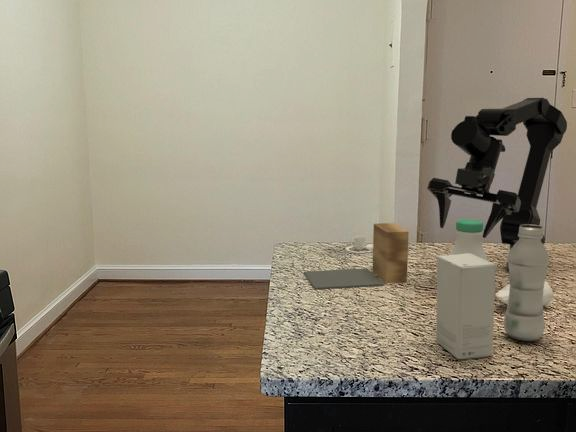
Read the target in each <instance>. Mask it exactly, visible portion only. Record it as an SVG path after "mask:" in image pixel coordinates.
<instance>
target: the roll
mask: <svg viewBox="0 0 576 432" xmlns="http://www.w3.org/2000/svg"><path fill="white" fill-rule="evenodd" d="M543 290H544V291H543V307H544V306H548V305H549V304H551V302H552V301H553V299H554V292H553V288H552V287H551V285H550V284H549V283H548V282H547V281H546V280H545V283H544V288H543ZM509 291H510V282H509V283H508V284H506V285H505V286H504V287H503V288H501V289H499V290H498V291H497V292H496V293H495V295H494V296H496V298H497V299H498V300H499V301H501V302H502V303H504V304H506V305H508V299H509Z"/></svg>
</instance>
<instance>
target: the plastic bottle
mask: <svg viewBox="0 0 576 432" xmlns="http://www.w3.org/2000/svg"><path fill="white" fill-rule="evenodd" d="M543 232H544V227H543V226H541V225H530V224H525V225H520V227H519V233H518V237H520V238H519V240H518V241H517V242H516V243H515V244H514V246H513V247H512V248H511V249H510V248H509V251H508V253H507V263H508V264H509V271H508V273H509V275H508V276H509V283H510V291H509V299H508V305H507V304H506V305H507V307H506V310H505V314H504V317H503V327H504V329H503V330H504V331H505V333H506V334H507V335H508V336H509V337H510V338H512V339H516V340H519V341H526V342H532V341H534V342H535V341H538V340H540V338H541V337H542V336H544V332H545V328H546V322H545V315H544V306H543V291H544V290H543V288H544V283H545V281H546V277H547V272H548V269H549V268H548V267H549V264H550V255H549V252H548V250H547V249H546V246H544V245H543V244H542V242H541V239H542V238H543V235H544V234H543ZM542 234H543V235H542Z"/></svg>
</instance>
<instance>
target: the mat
mask: <svg viewBox="0 0 576 432" xmlns="http://www.w3.org/2000/svg"><path fill="white" fill-rule="evenodd" d="M303 274H304V276H305V277H306V279H307V281H308V282H309V283H310V285H311V286H312V288H313V289H314V290H330V289H333V290H334V289H348V288H349V289H350V288H363V287H364V288H365V287H383V286H385V282H383V281H382V280H380V278H379V277H378V276H377V275H376V274H375V273H374V272H373V271H371V270H369V268H367V267H366V268H365V267H364V268H363V267H362V268H348V269H346V268H345V269H343V268H342V269H328V270H327V269H326V270H310V271H309V270H308V271H306V270H305V271H303Z"/></svg>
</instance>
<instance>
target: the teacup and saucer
mask: <svg viewBox="0 0 576 432" xmlns="http://www.w3.org/2000/svg"><path fill="white" fill-rule="evenodd" d="M352 239H353V243H354V245H353V243H352ZM349 243H350V244H351V245H350V246H346V247H345V250H346V251H348V252H349V253H354V254H355V253H358V254H360V253H361V254H364V253H365V254H366V252H367V253H373V243H369V244H367V245H366V236H365V235H354V237H351V238H350V239H349ZM351 248H354V249H355V250H356V251H354V250H351ZM364 249H365V250H366V251H364Z"/></svg>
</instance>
